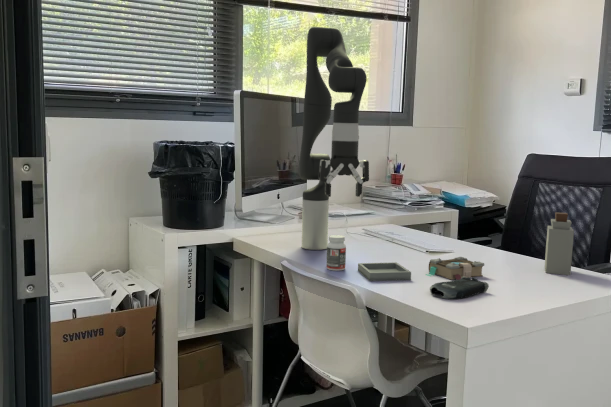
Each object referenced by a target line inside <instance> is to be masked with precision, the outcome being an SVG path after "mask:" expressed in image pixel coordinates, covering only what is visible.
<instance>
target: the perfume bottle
mask: <svg viewBox="0 0 611 407" xmlns="http://www.w3.org/2000/svg"><path fill="white" fill-rule="evenodd" d="M554 214H555V216H554V217H555V218H550V222H551V225H547V229H546V231H547V232H546V240H545V241H546V242H545V255H544V257H545V258H544V271H545V274H552V275H563V276H571V274H572V273H571V272H572V263H573V262H572V259H573V249H574V248H573V246H574V237H575V236H574V234H575V233H574V232H575V230H574V229H573V227H572V224H573V223H572V221H571V220H570V219H568V217H569V216H568V215H569V214H568V212H556V211H555V212H554Z"/></svg>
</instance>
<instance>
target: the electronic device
mask: <svg viewBox="0 0 611 407" xmlns="http://www.w3.org/2000/svg"><path fill="white" fill-rule="evenodd" d="M489 287H490V285H489V283H488V282H485V281H481V280H478V278H477V277H471V278H470V277H468V278H466V277H462V278H461V279H460V280H457V279H455V280H450V281H449V280H448V281H441V282H440V281H439V282H435V283H433V284H432V285H431V286H430V287H429V292H430V294H431V297H437V298H440V299H446V300H447V299H448V300H459V299H465V298H469V297H472V296H476V295H478V294H480V293H487V291H488V289H489ZM436 292H440V296H437V295H436V294H435V293H436Z"/></svg>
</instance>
